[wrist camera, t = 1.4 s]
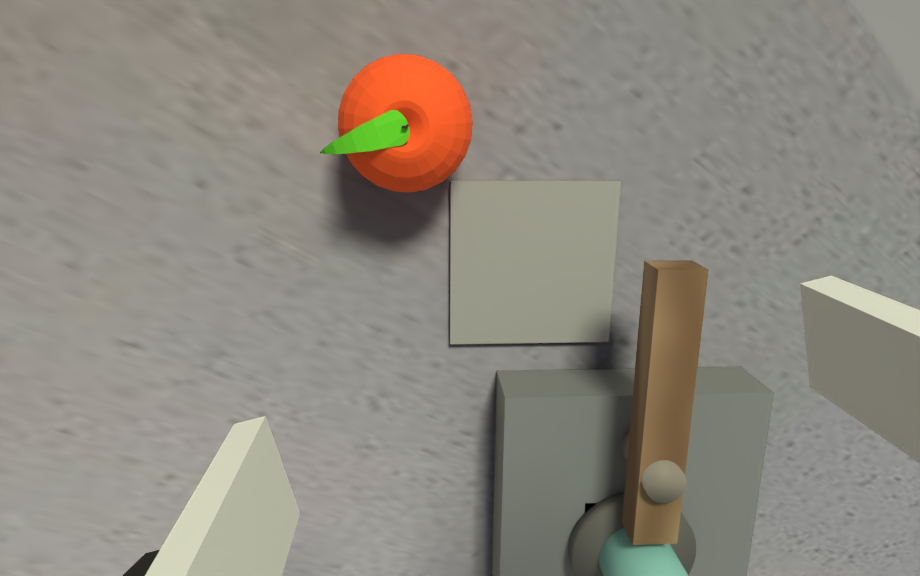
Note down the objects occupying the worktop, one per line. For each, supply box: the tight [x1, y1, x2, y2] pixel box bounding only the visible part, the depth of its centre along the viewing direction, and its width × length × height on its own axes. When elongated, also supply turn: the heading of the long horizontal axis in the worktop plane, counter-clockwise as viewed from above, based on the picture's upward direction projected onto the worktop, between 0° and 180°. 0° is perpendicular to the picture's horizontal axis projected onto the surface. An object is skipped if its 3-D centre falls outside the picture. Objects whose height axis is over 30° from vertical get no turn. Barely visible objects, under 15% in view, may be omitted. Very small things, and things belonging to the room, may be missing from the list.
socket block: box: [492, 367, 774, 576], centre depth 42 cm, size 16×20×4 cm
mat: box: [450, 180, 621, 344], centre depth 39 cm, size 10×10×1 cm
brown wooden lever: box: [621, 261, 708, 545], centre depth 35 cm, size 2×16×4 cm, turn 0°
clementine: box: [320, 54, 473, 193], centre depth 33 cm, size 8×7×7 cm
